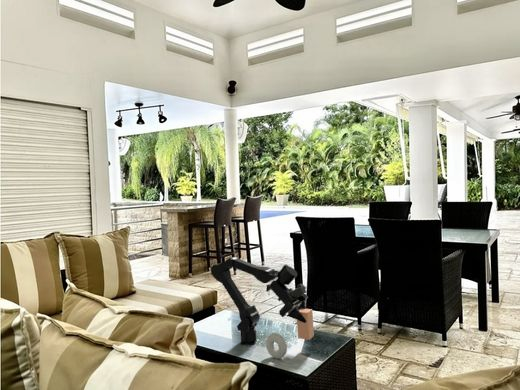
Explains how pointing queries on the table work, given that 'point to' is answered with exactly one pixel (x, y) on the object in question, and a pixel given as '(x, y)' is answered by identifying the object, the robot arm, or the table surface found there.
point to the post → (306, 325)
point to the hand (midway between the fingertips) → (308, 320)
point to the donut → (271, 348)
